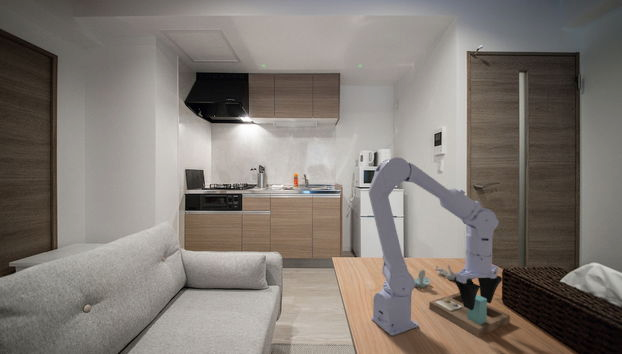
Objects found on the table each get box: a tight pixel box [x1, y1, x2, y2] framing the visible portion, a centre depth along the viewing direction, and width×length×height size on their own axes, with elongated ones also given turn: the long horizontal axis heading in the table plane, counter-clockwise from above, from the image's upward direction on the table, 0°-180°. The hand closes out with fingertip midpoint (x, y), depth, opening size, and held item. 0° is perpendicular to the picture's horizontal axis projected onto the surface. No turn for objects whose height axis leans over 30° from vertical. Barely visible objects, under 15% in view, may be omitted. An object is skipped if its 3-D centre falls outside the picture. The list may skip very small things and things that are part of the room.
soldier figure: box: [434, 263, 458, 281], centre depth 94 cm, size 8×5×12 cm
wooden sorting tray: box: [428, 292, 511, 338], centre depth 70 cm, size 14×14×2 cm
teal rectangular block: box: [467, 293, 488, 325], centre depth 64 cm, size 3×3×6 cm
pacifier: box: [414, 269, 431, 289], centre depth 89 cm, size 7×6×6 cm
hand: (477, 304), depth 64 cm, fingers open, 7 cm apart
